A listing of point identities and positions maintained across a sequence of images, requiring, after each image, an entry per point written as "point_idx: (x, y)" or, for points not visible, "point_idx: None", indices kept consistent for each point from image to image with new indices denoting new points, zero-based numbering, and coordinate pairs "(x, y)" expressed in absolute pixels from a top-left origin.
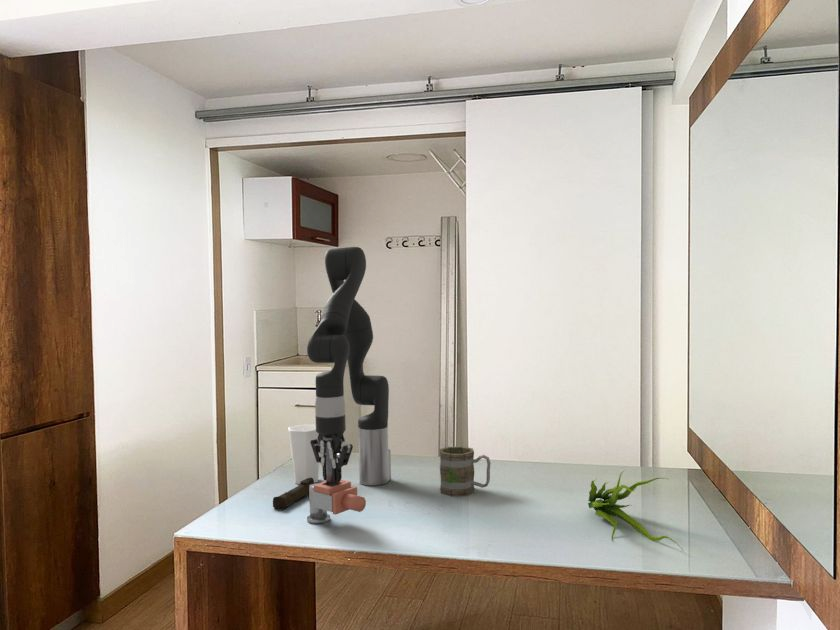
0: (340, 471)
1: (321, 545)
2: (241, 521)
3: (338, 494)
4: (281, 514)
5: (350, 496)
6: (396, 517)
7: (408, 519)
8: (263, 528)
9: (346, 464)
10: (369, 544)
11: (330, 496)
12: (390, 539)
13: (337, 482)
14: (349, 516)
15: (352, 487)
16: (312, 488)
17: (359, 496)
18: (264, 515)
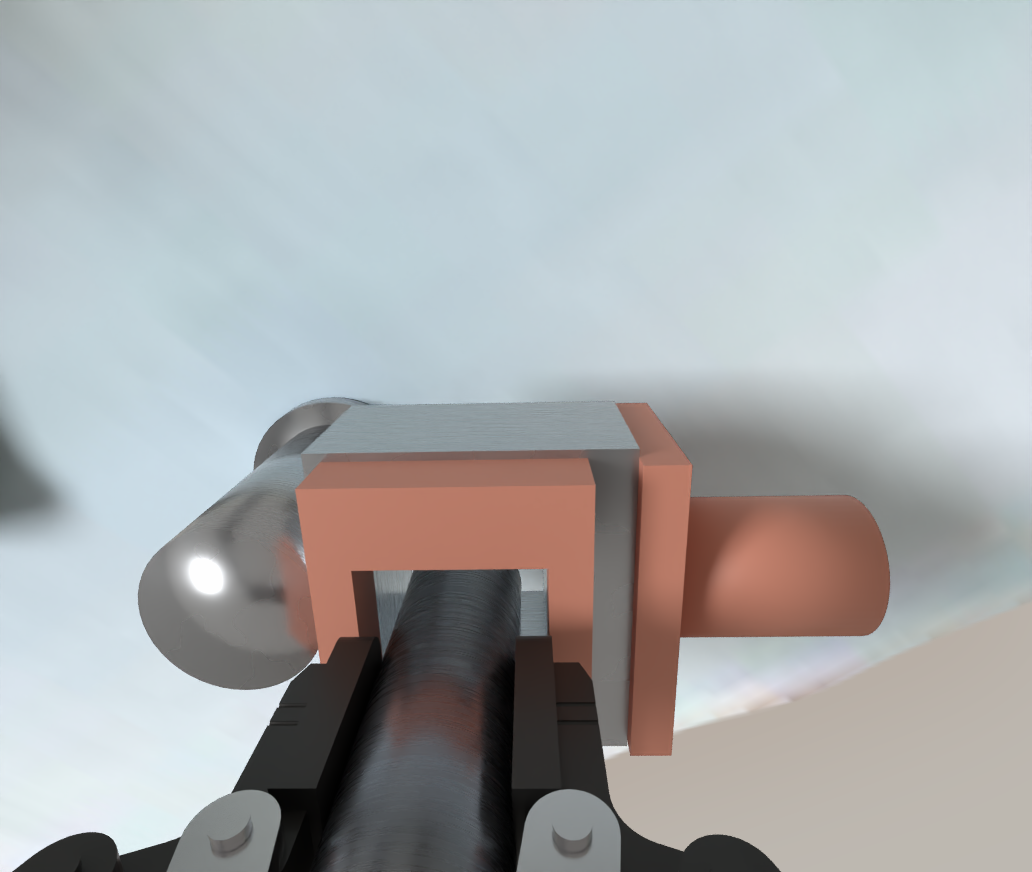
0: (600, 770)
1: (683, 714)
2: (23, 738)
3: (671, 708)
4: (61, 544)
5: (762, 625)
6: (788, 59)
7: (909, 31)
8: (220, 734)
9: (758, 867)
10: (917, 568)
11: (610, 741)
12: (997, 441)
13: (500, 622)
14: (452, 289)
15: (657, 505)
16: (264, 686)
17: (861, 592)
18: (7, 613)
